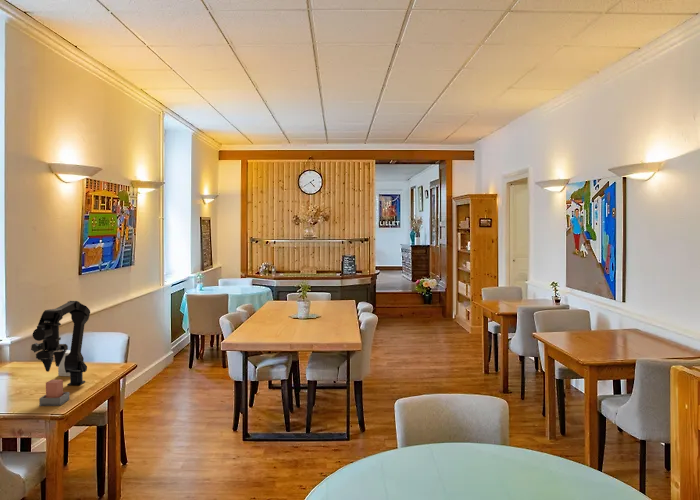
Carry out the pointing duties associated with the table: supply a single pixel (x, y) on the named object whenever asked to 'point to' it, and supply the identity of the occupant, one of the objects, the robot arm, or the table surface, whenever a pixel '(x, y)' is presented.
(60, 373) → the supplement box
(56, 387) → the red block
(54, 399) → the open box
